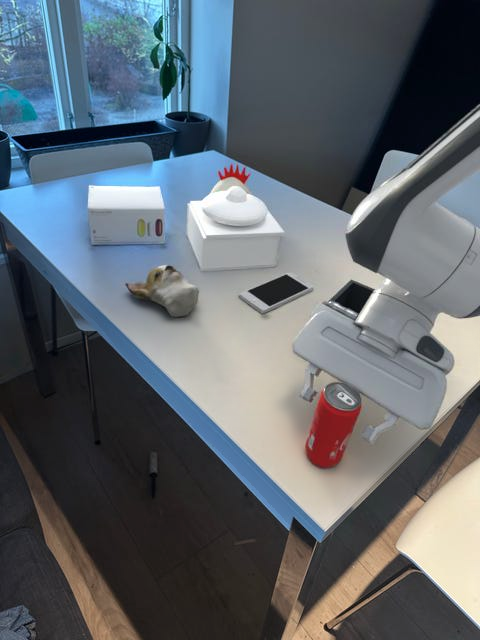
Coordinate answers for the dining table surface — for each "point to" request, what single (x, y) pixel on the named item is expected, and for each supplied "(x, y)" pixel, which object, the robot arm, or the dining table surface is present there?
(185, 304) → the ceramic sculpture
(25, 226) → the dining table surface
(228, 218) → the butter dish
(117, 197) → the supplement box
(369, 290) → the bin
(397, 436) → the dining table surface
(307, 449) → the beverage can
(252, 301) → the smartphone
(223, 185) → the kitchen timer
